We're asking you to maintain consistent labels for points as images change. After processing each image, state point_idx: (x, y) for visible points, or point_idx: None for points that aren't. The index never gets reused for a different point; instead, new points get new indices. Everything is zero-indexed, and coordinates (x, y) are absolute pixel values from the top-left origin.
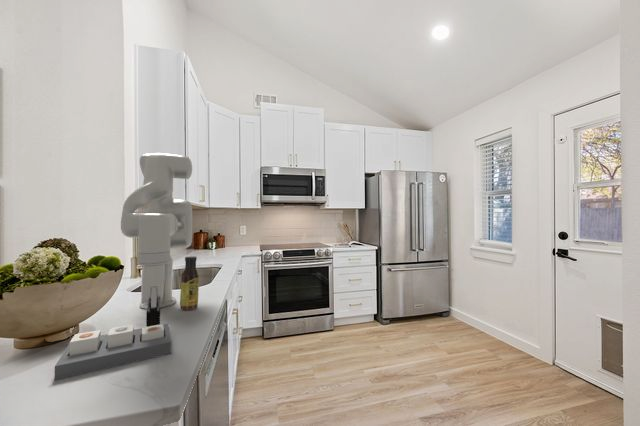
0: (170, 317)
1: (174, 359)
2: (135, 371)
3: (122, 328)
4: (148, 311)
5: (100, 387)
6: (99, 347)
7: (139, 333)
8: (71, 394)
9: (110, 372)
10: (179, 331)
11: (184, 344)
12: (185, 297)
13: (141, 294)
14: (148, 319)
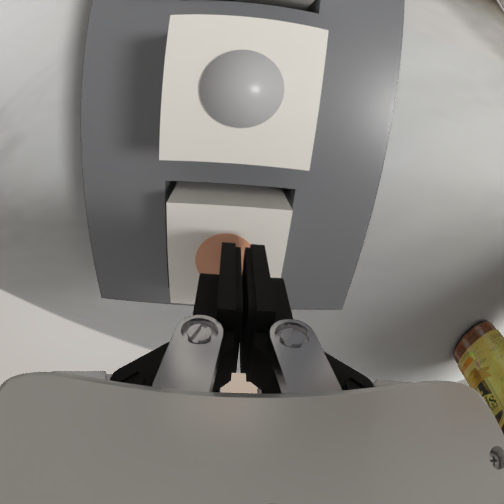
0: (463, 293)
1: (72, 272)
2: (38, 160)
3: (257, 95)
4: (180, 328)
5: (3, 78)
6: (270, 3)
7: (301, 184)
8: (13, 15)
9: (69, 77)
10: (317, 314)
11: (174, 314)
12: (488, 364)
13: (24, 484)
14: (218, 278)
